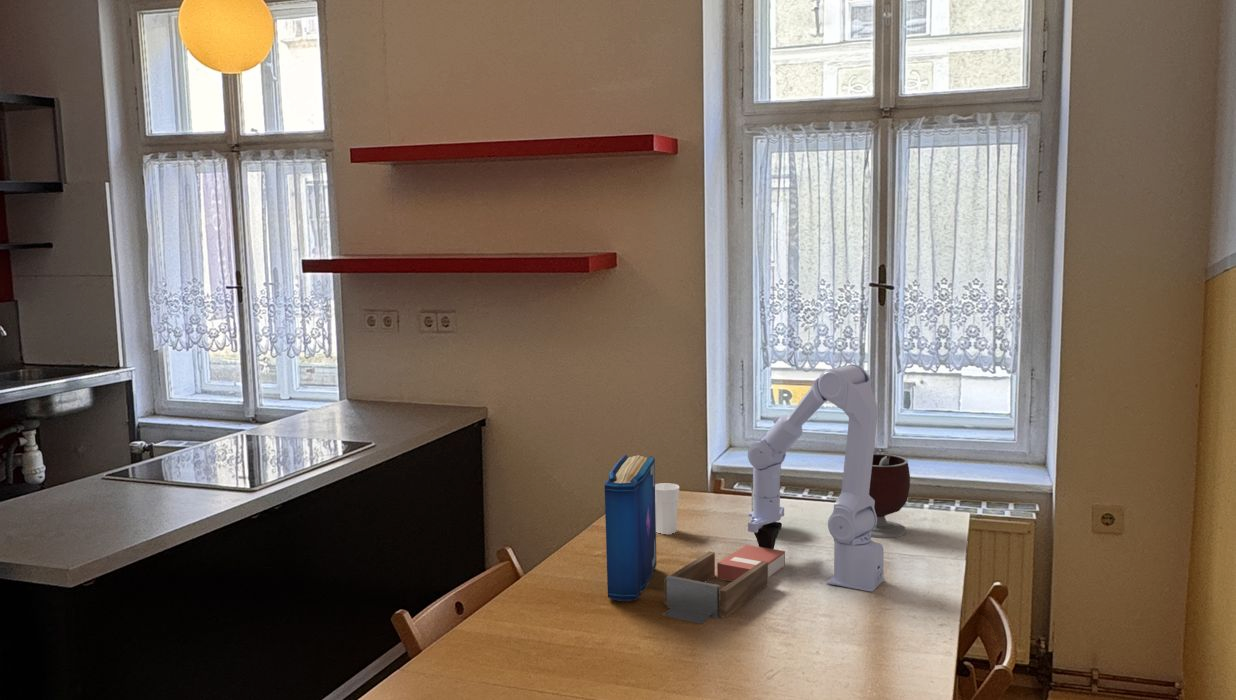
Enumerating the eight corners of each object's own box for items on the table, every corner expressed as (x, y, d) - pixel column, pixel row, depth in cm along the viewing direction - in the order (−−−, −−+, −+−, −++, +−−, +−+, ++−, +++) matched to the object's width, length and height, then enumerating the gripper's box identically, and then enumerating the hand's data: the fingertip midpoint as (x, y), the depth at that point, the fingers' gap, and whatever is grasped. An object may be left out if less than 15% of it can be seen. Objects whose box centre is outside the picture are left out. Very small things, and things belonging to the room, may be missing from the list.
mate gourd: (843, 521, 243) (844, 441, 241) (901, 521, 243) (902, 441, 240) (856, 541, 228) (857, 456, 226) (917, 541, 227) (919, 455, 225)
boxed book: (785, 566, 212) (785, 550, 212) (757, 587, 201) (757, 570, 200) (746, 560, 217) (746, 544, 217) (717, 579, 206) (717, 562, 205)
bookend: (719, 616, 185) (719, 585, 185) (707, 625, 181) (707, 593, 181) (669, 605, 191) (669, 575, 191) (656, 614, 187) (655, 583, 186)
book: (639, 606, 191) (637, 479, 188) (603, 604, 193) (600, 478, 190) (657, 568, 212) (655, 454, 209) (624, 566, 214) (622, 453, 211)
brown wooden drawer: (767, 585, 201) (767, 561, 200) (725, 617, 185) (725, 591, 184) (709, 574, 208) (709, 551, 207) (664, 604, 192) (664, 579, 191)
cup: (647, 529, 240) (646, 485, 238) (671, 525, 242) (671, 481, 241) (660, 537, 234) (659, 491, 232) (684, 533, 237) (684, 488, 235)
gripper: (763, 485, 223) (763, 543, 224) (734, 500, 210) (735, 562, 212) (793, 489, 219) (792, 548, 220) (765, 505, 207) (765, 567, 208)
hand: (766, 555), depth 216 cm, fingers closed
